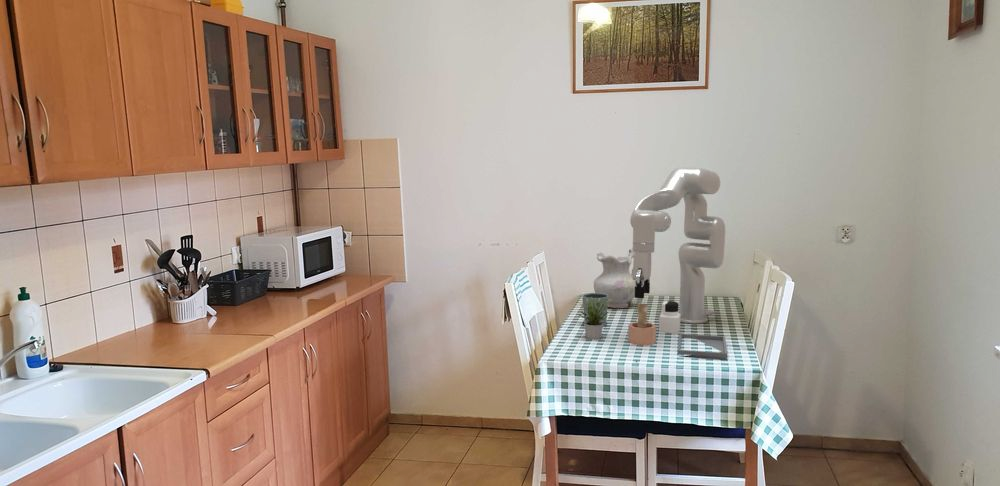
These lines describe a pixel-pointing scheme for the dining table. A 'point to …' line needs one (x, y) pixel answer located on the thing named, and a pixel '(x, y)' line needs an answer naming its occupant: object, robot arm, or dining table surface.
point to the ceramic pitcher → (616, 280)
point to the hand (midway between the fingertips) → (642, 295)
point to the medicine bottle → (669, 318)
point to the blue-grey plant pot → (596, 297)
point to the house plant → (594, 319)
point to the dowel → (642, 315)
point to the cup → (642, 334)
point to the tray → (712, 341)
